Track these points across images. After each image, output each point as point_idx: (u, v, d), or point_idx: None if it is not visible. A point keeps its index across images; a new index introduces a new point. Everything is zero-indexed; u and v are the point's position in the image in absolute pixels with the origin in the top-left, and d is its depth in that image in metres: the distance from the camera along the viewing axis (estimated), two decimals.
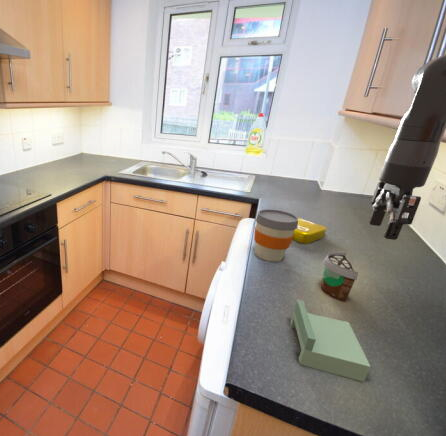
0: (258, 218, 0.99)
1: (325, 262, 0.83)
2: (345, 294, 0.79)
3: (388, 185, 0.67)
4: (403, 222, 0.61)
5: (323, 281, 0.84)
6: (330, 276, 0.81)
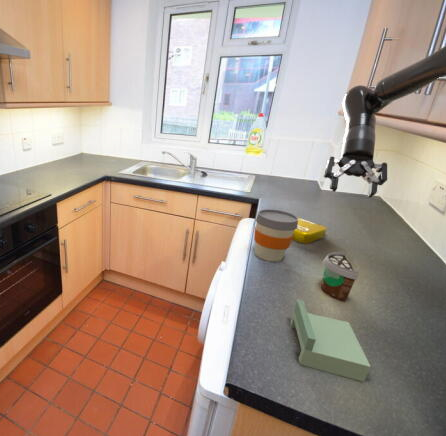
0: (258, 218, 0.99)
1: (325, 262, 0.83)
2: (345, 294, 0.79)
3: None
4: (325, 174, 0.87)
5: (323, 281, 0.84)
6: (330, 276, 0.81)
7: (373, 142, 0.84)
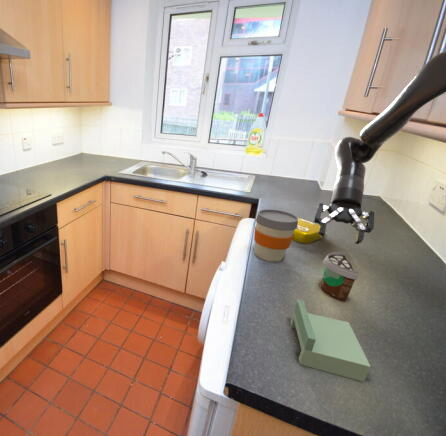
0: (258, 218, 0.99)
1: (325, 262, 0.83)
2: (345, 294, 0.79)
3: None
4: (314, 219, 0.92)
5: (323, 281, 0.84)
6: (330, 276, 0.81)
7: (361, 191, 0.88)
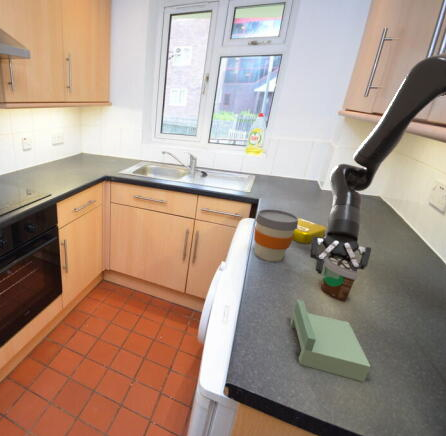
0: (258, 218, 0.99)
1: (325, 262, 0.83)
2: (345, 294, 0.79)
3: None
4: (311, 254, 0.86)
5: (323, 281, 0.84)
6: (330, 276, 0.81)
7: (357, 223, 0.84)
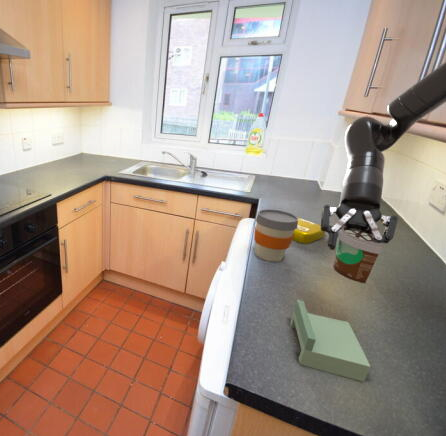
0: (258, 218, 0.99)
1: (339, 235, 0.67)
2: (365, 274, 0.63)
3: None
4: (321, 227, 0.70)
5: (337, 259, 0.68)
6: (346, 252, 0.65)
7: (379, 187, 0.67)
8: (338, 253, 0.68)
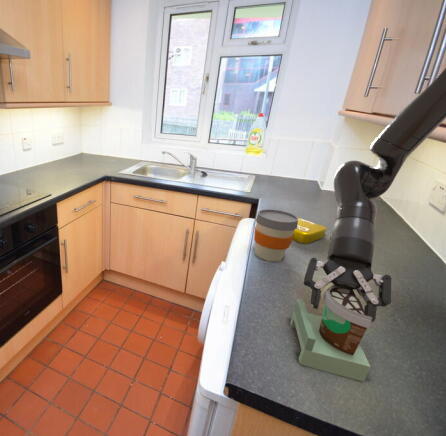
0: (258, 218, 0.99)
1: (325, 299, 0.60)
2: (353, 345, 0.57)
3: None
4: (304, 281, 0.64)
5: (323, 324, 0.62)
6: (333, 319, 0.59)
7: (371, 244, 0.61)
8: (324, 318, 0.62)
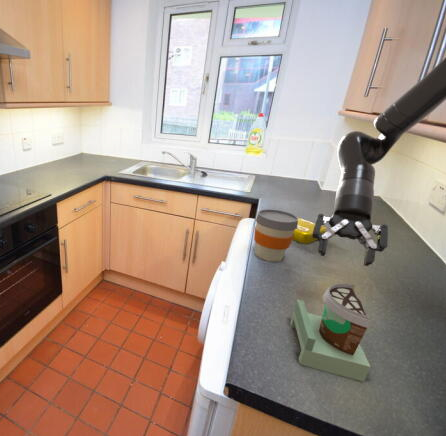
0: (258, 218, 0.99)
1: (325, 299, 0.60)
2: (353, 345, 0.57)
3: None
4: (312, 234, 0.74)
5: (323, 324, 0.62)
6: (333, 319, 0.59)
7: (370, 199, 0.71)
8: (324, 318, 0.62)
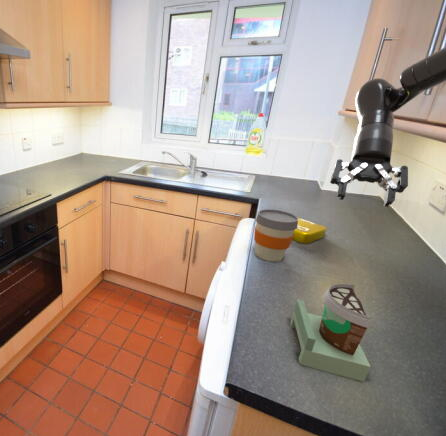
0: (258, 218, 0.99)
1: (325, 299, 0.60)
2: (353, 345, 0.57)
3: None
4: (331, 179, 0.74)
5: (323, 324, 0.62)
6: (333, 319, 0.59)
7: (390, 142, 0.71)
8: (324, 318, 0.62)
